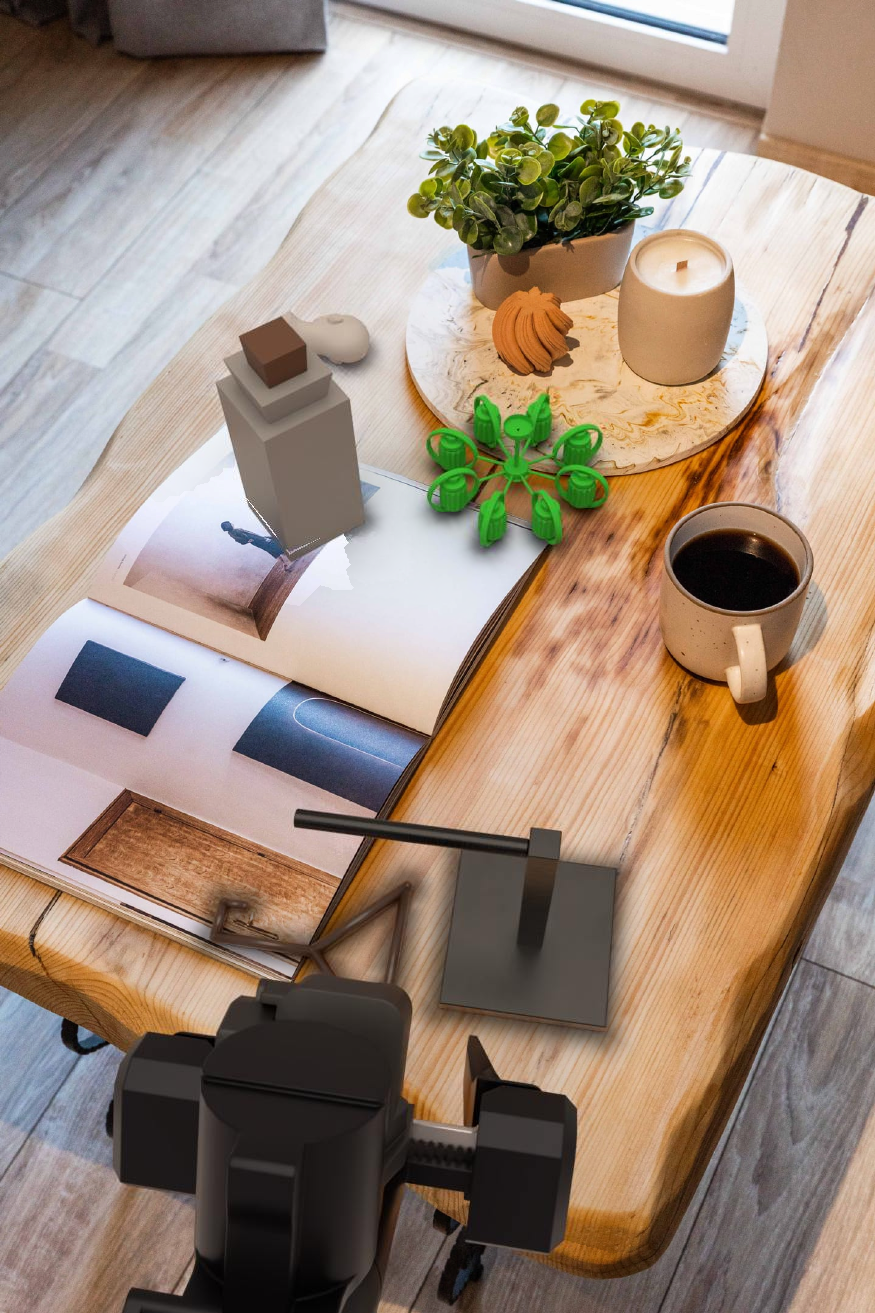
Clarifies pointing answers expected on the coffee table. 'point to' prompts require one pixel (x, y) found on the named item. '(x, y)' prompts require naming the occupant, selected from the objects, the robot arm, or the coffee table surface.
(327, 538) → the perfume bottle
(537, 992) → the hook stand
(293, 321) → the beige rounded piece
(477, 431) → the chandelier
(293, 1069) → the robot arm
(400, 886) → the hanger
